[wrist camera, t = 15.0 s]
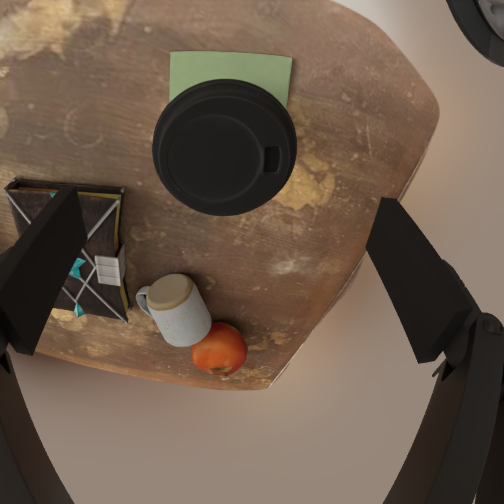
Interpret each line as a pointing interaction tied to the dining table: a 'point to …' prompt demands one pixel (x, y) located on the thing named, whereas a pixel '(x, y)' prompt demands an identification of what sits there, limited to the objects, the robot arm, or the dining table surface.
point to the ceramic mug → (176, 309)
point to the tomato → (220, 350)
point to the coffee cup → (224, 147)
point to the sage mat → (230, 70)
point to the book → (94, 251)
